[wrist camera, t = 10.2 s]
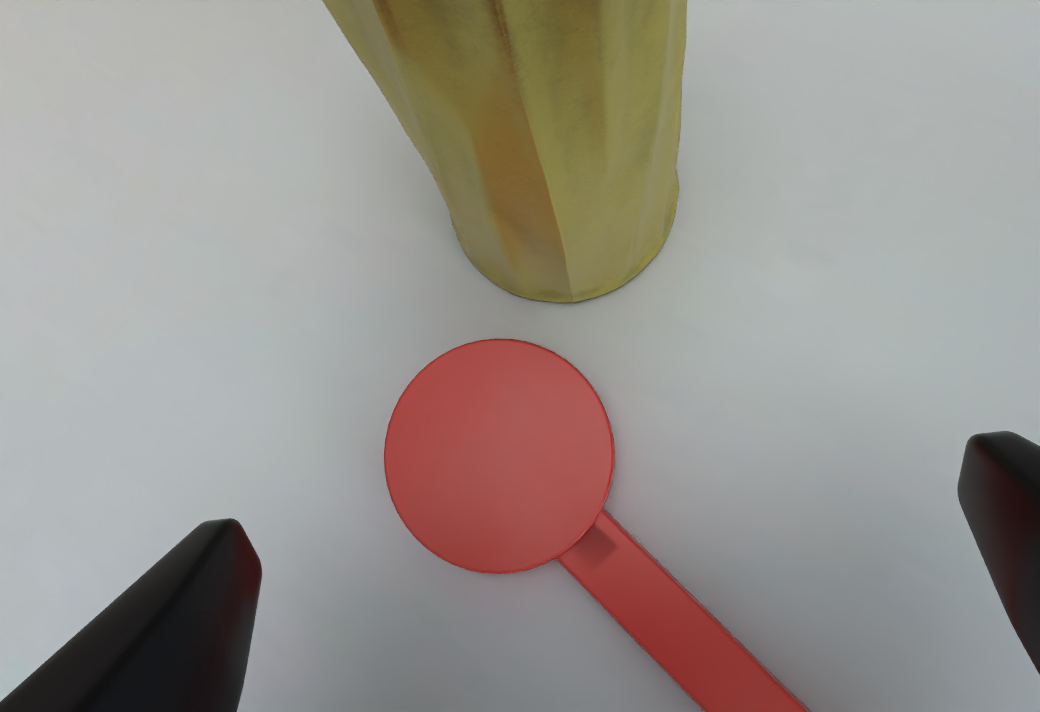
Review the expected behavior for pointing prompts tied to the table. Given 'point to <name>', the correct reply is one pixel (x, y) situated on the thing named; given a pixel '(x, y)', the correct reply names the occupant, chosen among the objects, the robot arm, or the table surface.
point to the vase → (538, 127)
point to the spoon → (550, 505)
